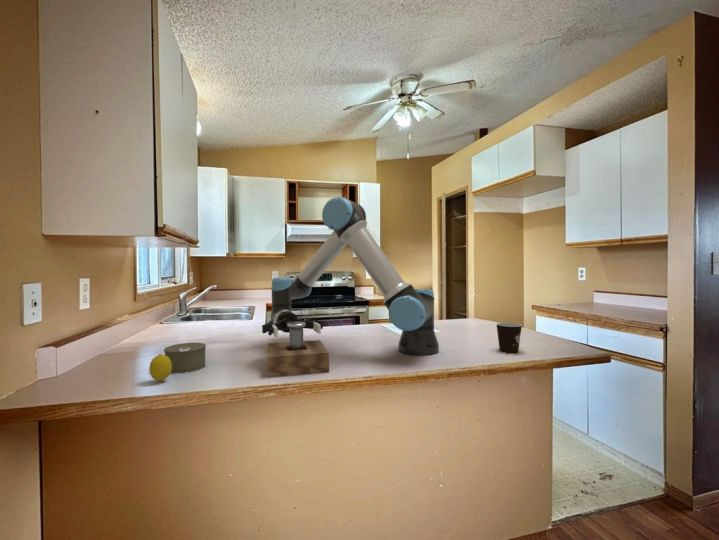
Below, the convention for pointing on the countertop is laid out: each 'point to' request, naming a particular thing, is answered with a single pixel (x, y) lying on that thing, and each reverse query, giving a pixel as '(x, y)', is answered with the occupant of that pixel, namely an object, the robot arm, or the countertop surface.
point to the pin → (296, 335)
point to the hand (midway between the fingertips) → (298, 331)
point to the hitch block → (297, 359)
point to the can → (186, 357)
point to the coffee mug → (509, 337)
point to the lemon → (160, 367)
